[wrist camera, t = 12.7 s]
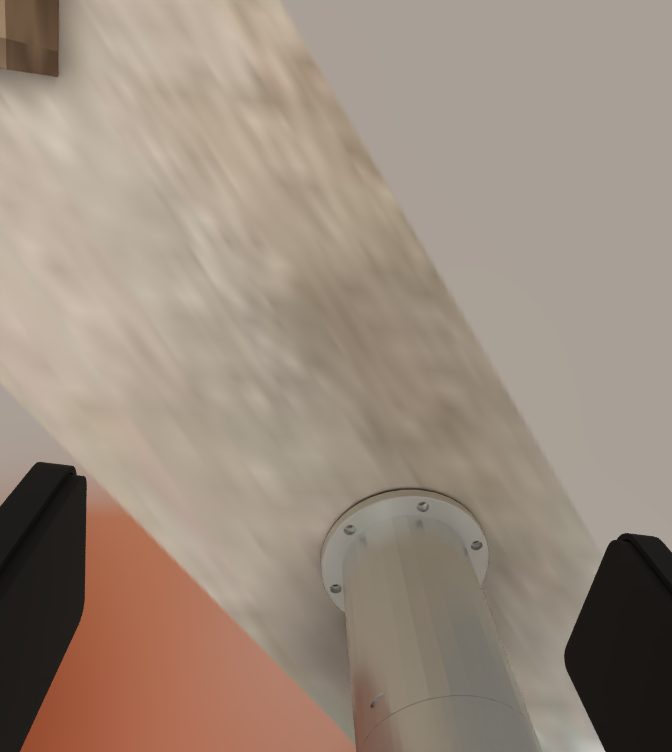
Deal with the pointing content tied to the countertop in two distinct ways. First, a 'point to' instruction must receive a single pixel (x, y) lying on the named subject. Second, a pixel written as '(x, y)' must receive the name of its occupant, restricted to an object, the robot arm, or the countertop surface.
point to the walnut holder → (29, 36)
